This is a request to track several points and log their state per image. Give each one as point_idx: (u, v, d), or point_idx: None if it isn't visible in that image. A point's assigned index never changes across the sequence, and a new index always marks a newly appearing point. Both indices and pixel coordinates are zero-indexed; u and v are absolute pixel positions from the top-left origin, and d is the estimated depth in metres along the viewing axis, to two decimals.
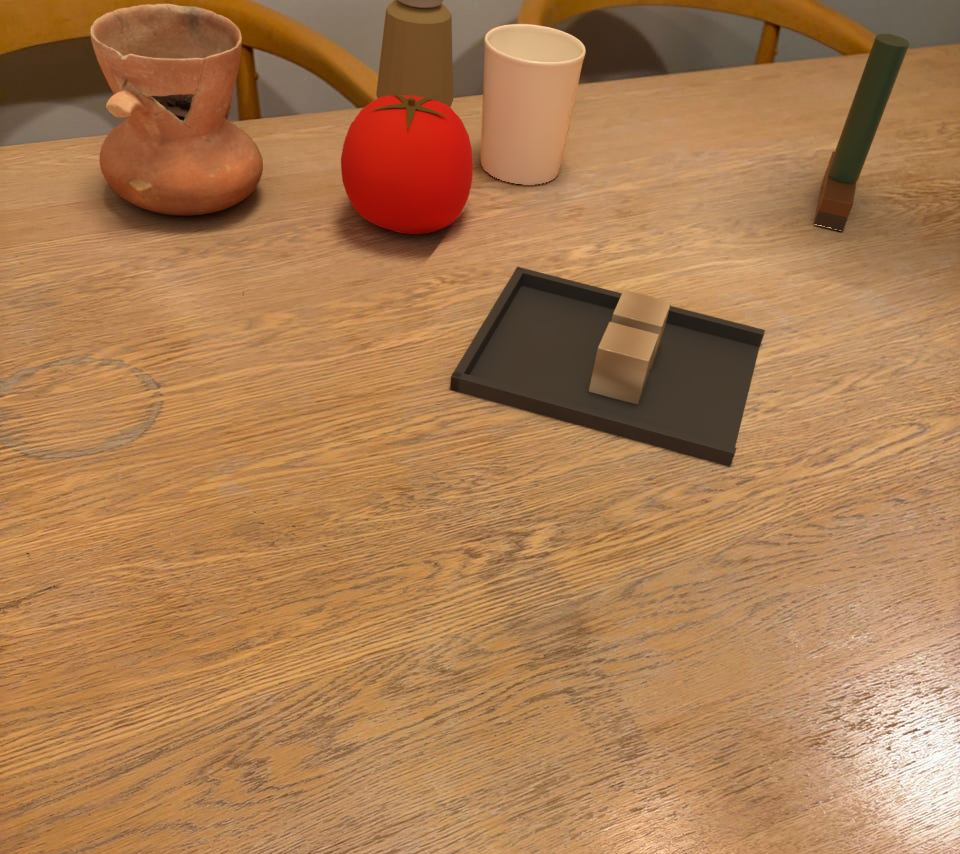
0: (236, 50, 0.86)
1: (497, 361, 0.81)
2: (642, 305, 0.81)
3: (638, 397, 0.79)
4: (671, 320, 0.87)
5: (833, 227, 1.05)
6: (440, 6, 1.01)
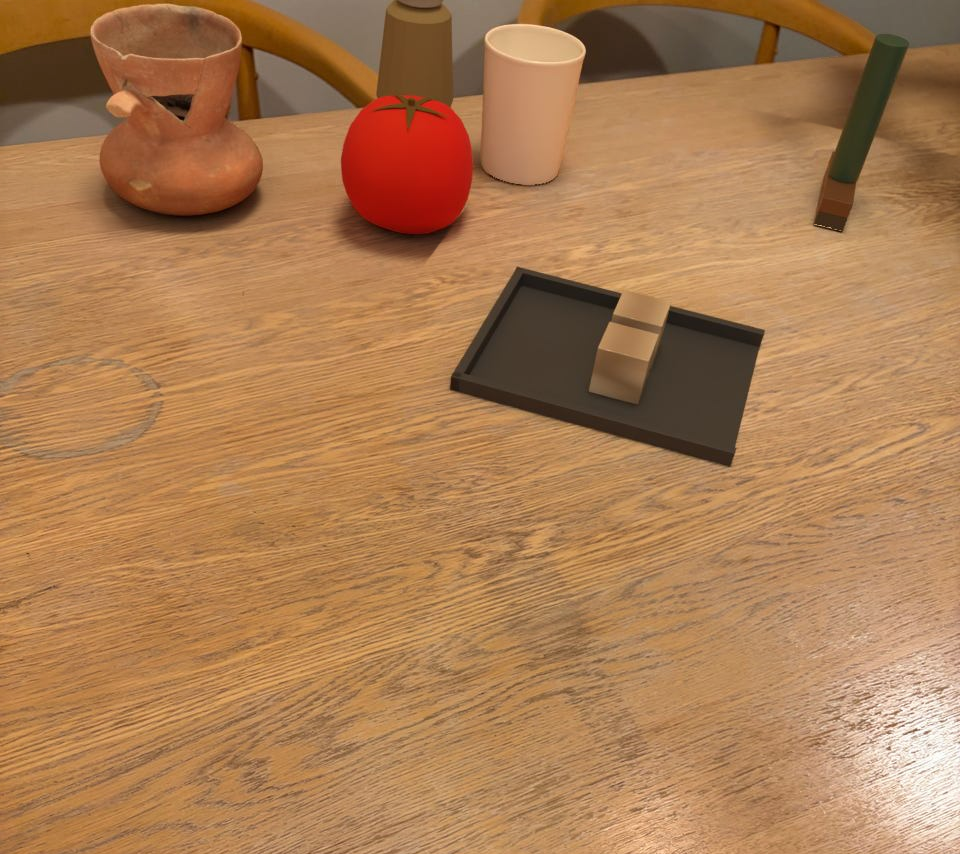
0: (236, 50, 0.86)
1: (497, 361, 0.81)
2: (642, 305, 0.81)
3: (638, 397, 0.79)
4: (671, 320, 0.87)
5: (833, 227, 1.05)
6: (440, 6, 1.01)
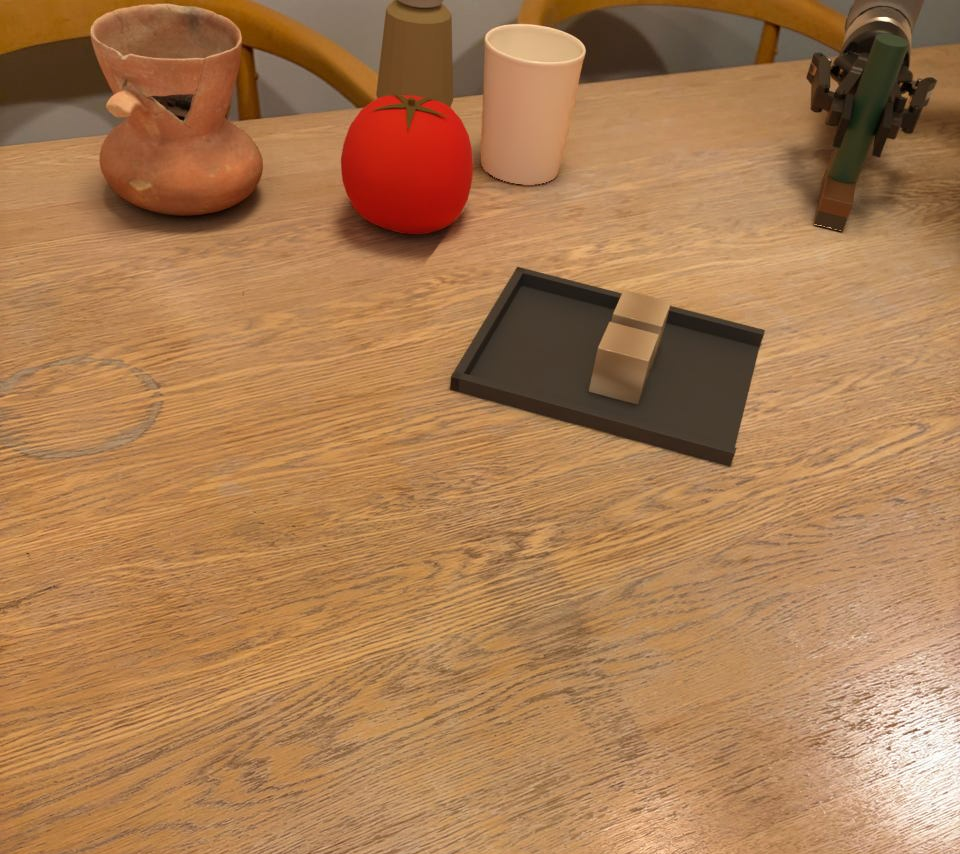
0: (236, 50, 0.86)
1: (497, 361, 0.81)
2: (642, 305, 0.81)
3: (638, 397, 0.79)
4: (671, 320, 0.87)
5: (833, 227, 1.05)
6: (440, 6, 1.01)
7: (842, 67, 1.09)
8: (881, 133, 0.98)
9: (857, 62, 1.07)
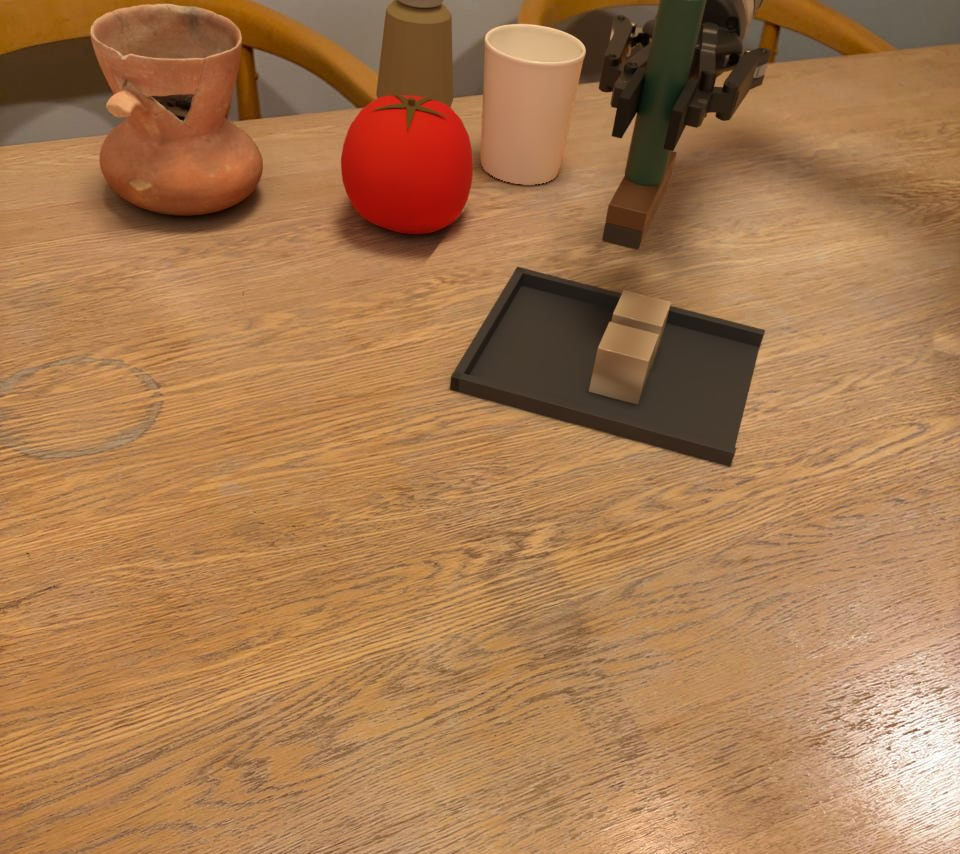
0: (236, 50, 0.86)
1: (497, 361, 0.81)
2: (642, 305, 0.81)
3: (638, 397, 0.79)
4: (671, 320, 0.87)
5: (626, 243, 0.79)
6: (440, 6, 1.01)
7: (650, 34, 0.83)
8: (671, 118, 0.72)
9: None
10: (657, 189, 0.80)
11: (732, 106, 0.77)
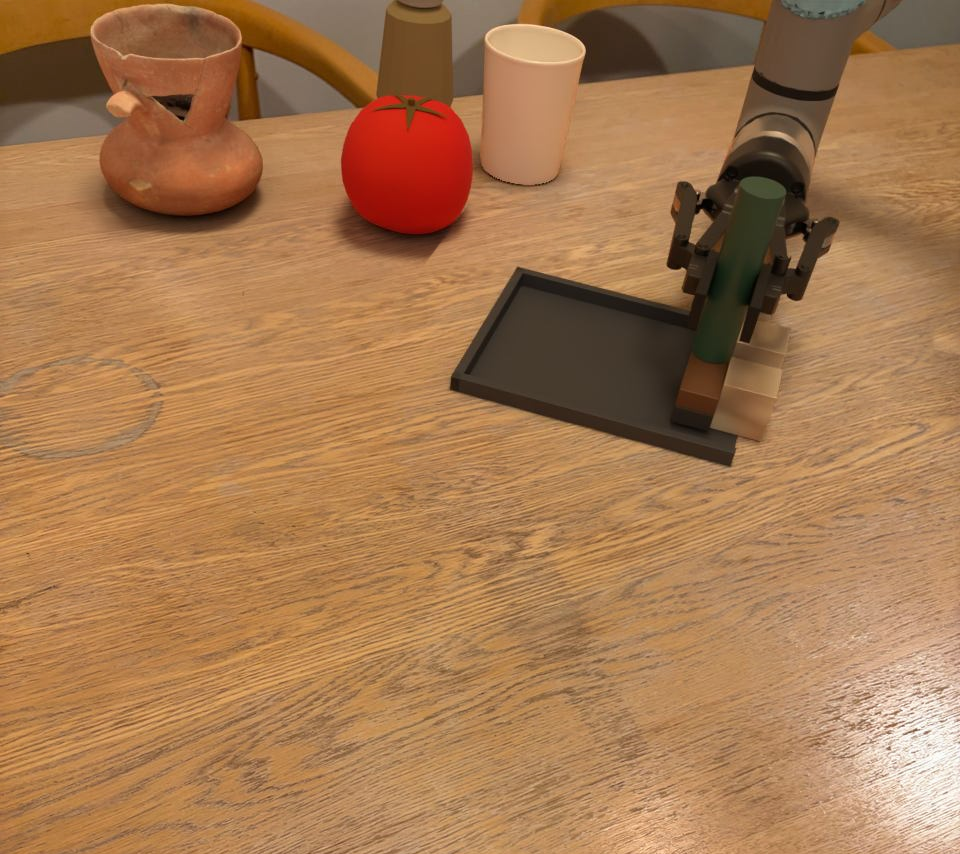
0: (236, 50, 0.86)
1: (497, 361, 0.81)
2: (763, 332, 0.81)
3: (762, 434, 0.77)
4: (671, 320, 0.87)
5: (696, 425, 0.77)
6: (440, 6, 1.01)
7: (715, 202, 0.81)
8: (749, 314, 0.70)
9: (732, 198, 0.80)
10: (726, 367, 0.78)
11: (805, 288, 0.76)
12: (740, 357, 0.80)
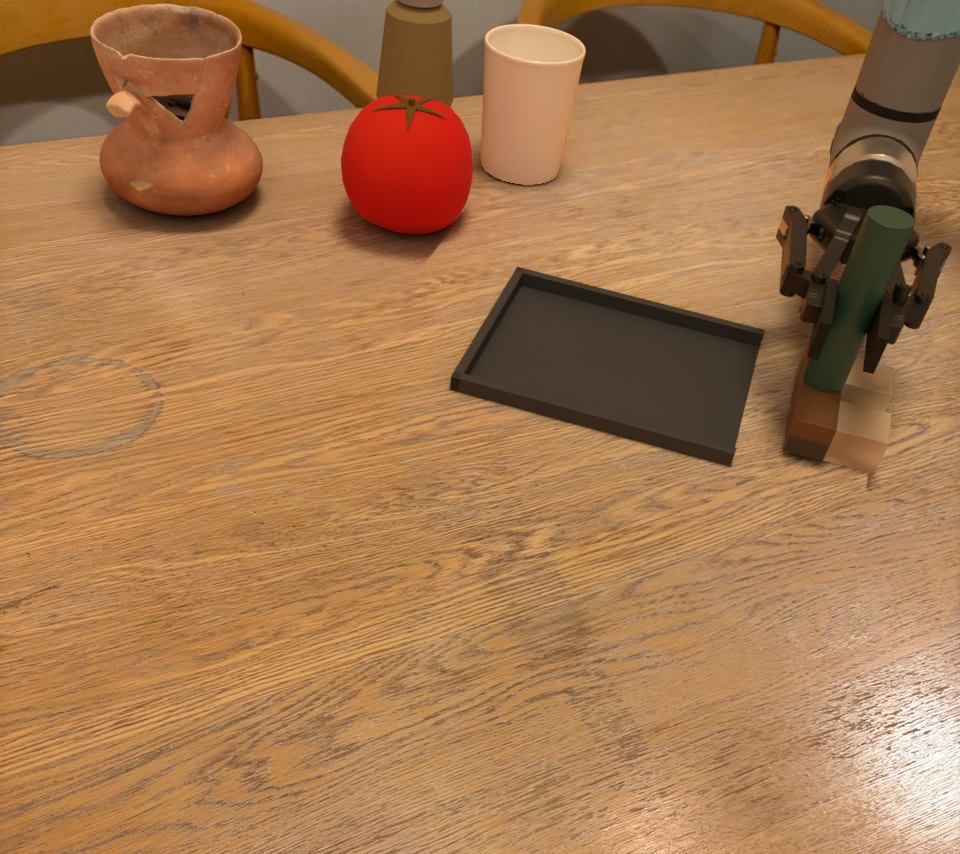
0: (236, 50, 0.86)
1: (497, 361, 0.81)
2: None
3: (870, 478, 0.77)
4: (671, 320, 0.87)
5: (810, 455, 0.76)
6: (440, 6, 1.01)
7: (824, 226, 0.80)
8: (875, 345, 0.69)
9: (844, 223, 0.79)
10: (839, 396, 0.77)
11: (924, 316, 0.74)
12: (845, 397, 0.80)
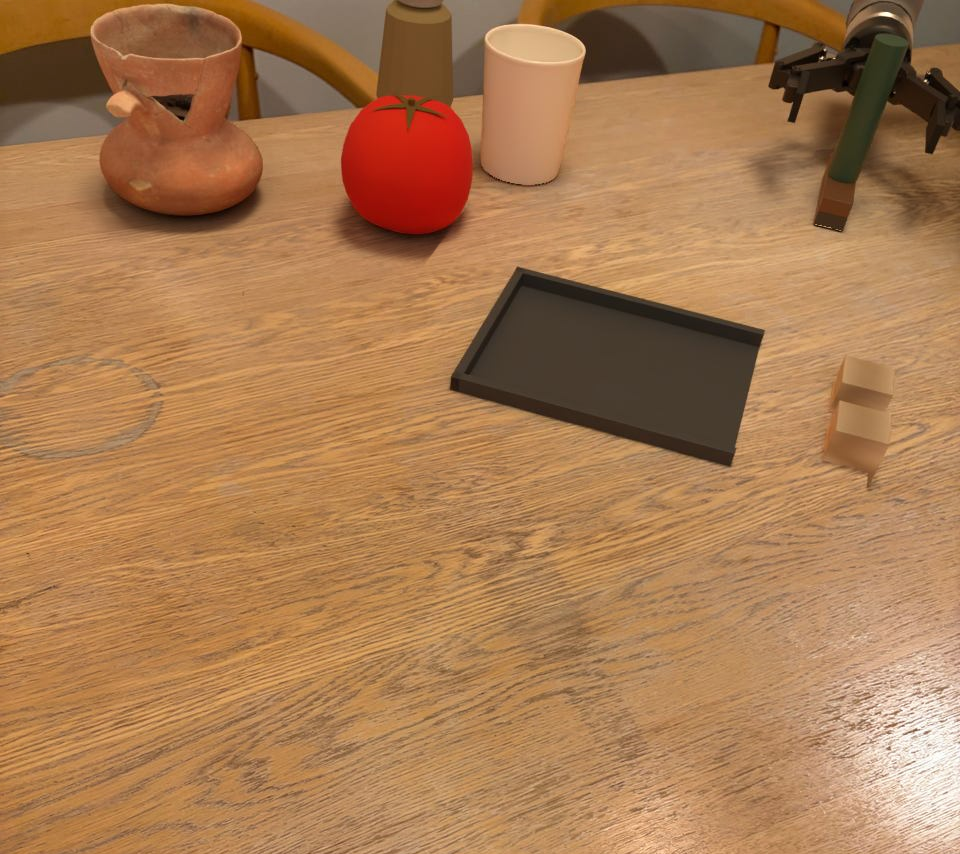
0: (236, 50, 0.86)
1: (497, 361, 0.81)
2: (868, 372, 0.81)
3: (871, 478, 0.77)
4: (671, 320, 0.87)
5: (833, 227, 1.05)
6: (440, 6, 1.01)
7: None
8: (935, 130, 0.98)
9: (850, 53, 1.07)
10: (854, 185, 1.05)
11: None
12: (846, 397, 0.80)
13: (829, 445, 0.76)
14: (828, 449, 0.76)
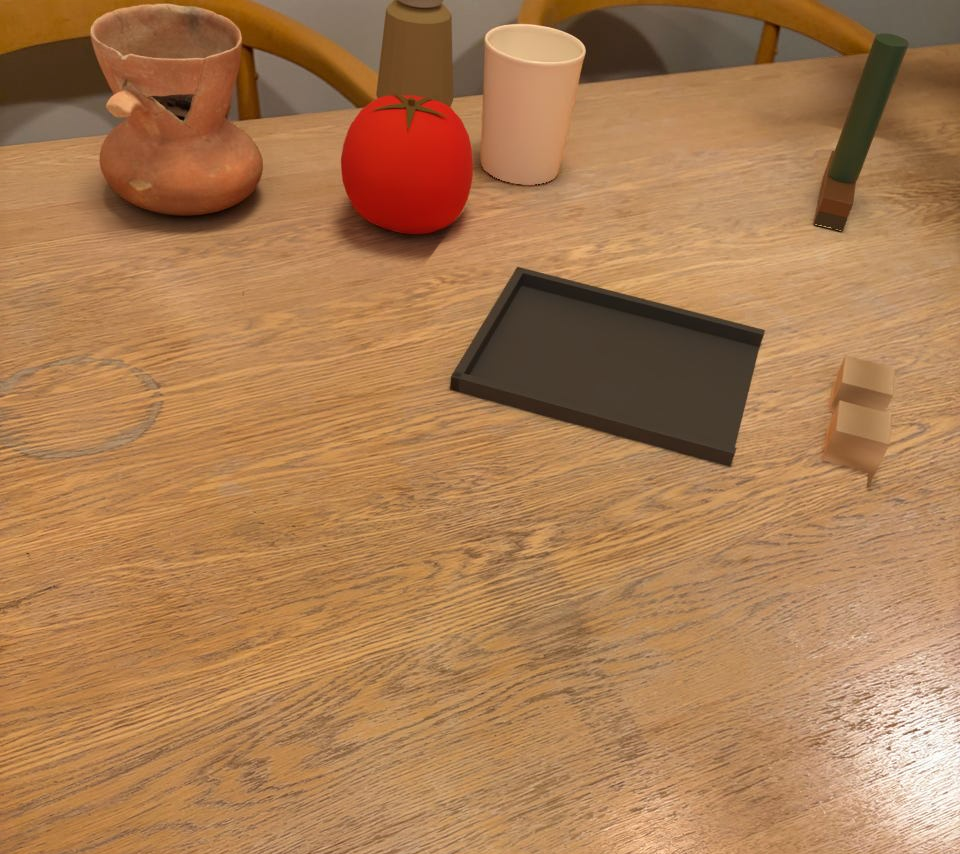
0: (236, 50, 0.86)
1: (497, 361, 0.81)
2: (868, 372, 0.81)
3: (871, 478, 0.77)
4: (671, 320, 0.87)
5: (833, 227, 1.05)
6: (440, 6, 1.01)
7: None
8: None
9: None
10: (854, 185, 1.05)
11: None
12: (846, 397, 0.80)
13: (829, 445, 0.76)
14: (828, 449, 0.76)
